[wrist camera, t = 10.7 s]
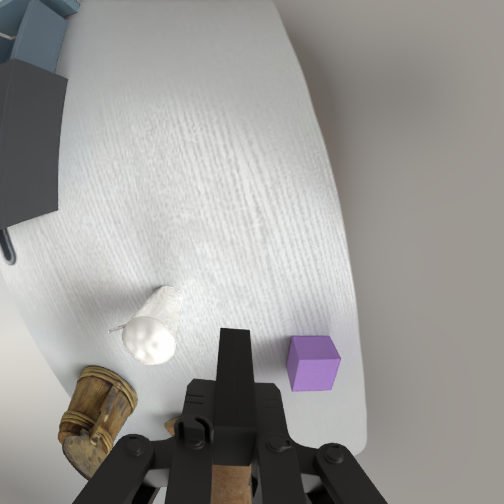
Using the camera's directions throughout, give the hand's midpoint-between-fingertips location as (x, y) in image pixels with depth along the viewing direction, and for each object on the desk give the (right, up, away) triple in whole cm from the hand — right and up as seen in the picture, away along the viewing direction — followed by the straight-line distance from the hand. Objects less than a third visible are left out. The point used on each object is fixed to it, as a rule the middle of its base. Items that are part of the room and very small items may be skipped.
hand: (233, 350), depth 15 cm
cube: (+7, -6, +17) cm, 20 cm away
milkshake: (-8, +1, +15) cm, 17 cm away
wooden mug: (-17, -12, +18) cm, 28 cm away
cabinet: (-26, +17, +9) cm, 32 cm away
